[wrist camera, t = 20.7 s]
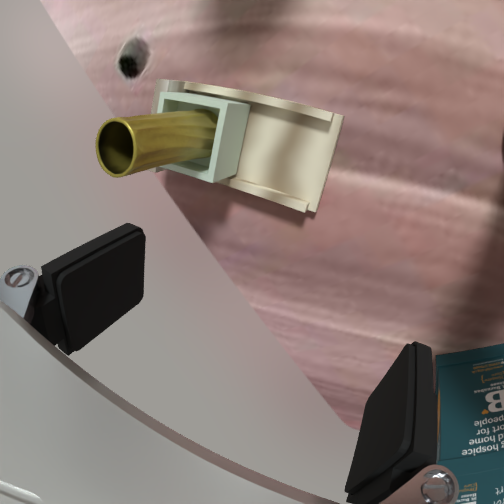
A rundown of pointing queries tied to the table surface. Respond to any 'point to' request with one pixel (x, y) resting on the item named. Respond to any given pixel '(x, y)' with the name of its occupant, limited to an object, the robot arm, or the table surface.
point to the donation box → (472, 422)
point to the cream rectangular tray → (275, 145)
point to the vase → (154, 140)
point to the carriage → (226, 135)
